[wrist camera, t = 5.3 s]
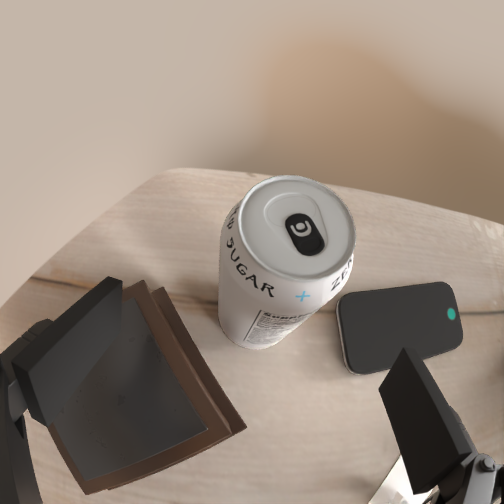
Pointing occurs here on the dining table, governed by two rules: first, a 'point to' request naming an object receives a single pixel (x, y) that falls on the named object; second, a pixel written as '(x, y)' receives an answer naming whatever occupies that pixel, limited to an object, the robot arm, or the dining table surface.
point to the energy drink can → (281, 258)
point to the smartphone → (397, 325)
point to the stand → (143, 400)
